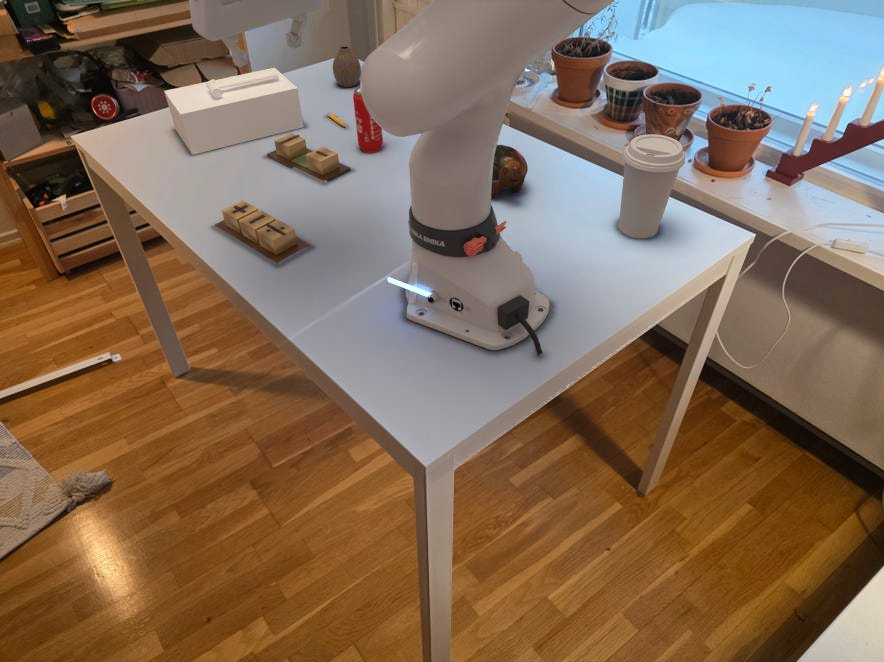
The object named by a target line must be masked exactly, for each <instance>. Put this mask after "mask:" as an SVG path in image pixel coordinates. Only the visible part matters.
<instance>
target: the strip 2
mask: <svg viewBox="0 0 884 662" xmlns="http://www.w3.org/2000/svg"><path fill="white" fill-rule="evenodd" d="M273 142H274V146H275V150H272V151H271V152H268V153H266V157H267V158H269V159H272V160H274V161H276V162H278V163H280V164H282V165H284V166H285V167H288V168H291V169H293V168H294V169H296V170H299V171H301V172H303V173H305V174H308V175H310V176H312V177H314V178H316V179H318V180H320V181H322V182H330V181H332V180H334V179H337V178H338V177H340V176H342V175H344V174H346V173H348V172H351V167H349V166H348V165H345V164H343V163H341V162H340V161H339V153H338V152H336V151H334V150H331V149H329V148H326V147H324V146H321V147H320V148H317V149H315V150H311V149H309V148H308V147H307V142H306V139H305V138H304V137H301V136H300V134H294V133H293V132H291V133H288V134H286V135H283V136H281V137H278V138H277V139H274V140H273Z"/></svg>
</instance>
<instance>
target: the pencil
mask: <svg viewBox="0 0 884 662" xmlns="http://www.w3.org/2000/svg"><path fill="white" fill-rule="evenodd" d="M326 115H327V117H329V118H330V119H331V120H333V121H334V122H335V123H337V124H339V125H340V126H341V127H343V128H344V127H345V128H347V125H346V124H345V123H344V122H343V121H342V120H341V119H339V118H337V117H336V116H335V115H333V114H332V113H331V112H327V114H326Z"/></svg>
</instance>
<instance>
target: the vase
mask: <svg viewBox="0 0 884 662" xmlns="http://www.w3.org/2000/svg"><path fill="white" fill-rule="evenodd" d="M361 69H362V66H361V63H360V60H359V59H358V56H356V54H355V53H354V52H353V51H352V50H351V48H350V46H348V45H342V46H340V47H339V48H338V51H337V53H336V55H335V56H334V58H333V61H332V74H333V77H334V79H335V81H336V82H337V84H338V85H339V86H341V87H343V88H352V87H355V86H357V84H358V83H360V75H361Z"/></svg>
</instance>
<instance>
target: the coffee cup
mask: <svg viewBox="0 0 884 662" xmlns="http://www.w3.org/2000/svg"><path fill="white" fill-rule="evenodd" d="M683 147H684V146H683V145H682V143H681V142H680V141H678V140H677V139H675V138H673V137H670V136H667V135H663V134H656V133H655V134H654V133H653V134H651V133H650V134H642V135H638V136H635V137H634V138H632V139H631V140H630V142H629V144H628V145H627V146H626V147H625V148H624V150H623V152H622V159H623V161H624V167H623V168H624V169H623V179H622V189H621V198H620V208H619V210H620V211H619V217H618V218H619V219H618V220H619V221H618V229H619V231H620V232H621V233H622V234H623V235H625V236H627V237H630V238H634V239H648V238H652V237H654V236H656V235H657V233H658V231H659V228H660V225H661V222H662V219H663V216H664V214H665V211H666V208H667V205H668V203H669V200H670V196H671V193H672V191H673V188H674V186H675V182H676V180H677V177H678V174H679V171H680V169H681V168H682V167H683V166H684V165H685V164H686V155H685V152H684V149H683Z"/></svg>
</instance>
